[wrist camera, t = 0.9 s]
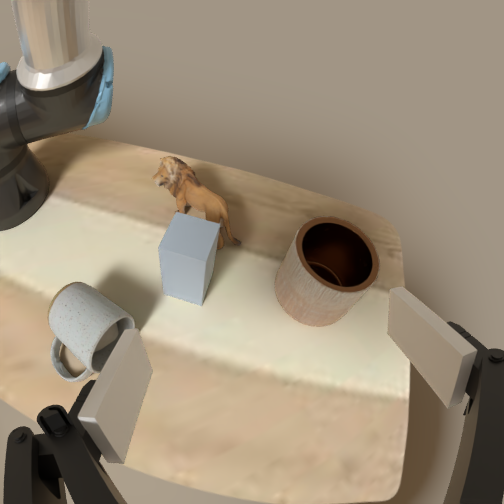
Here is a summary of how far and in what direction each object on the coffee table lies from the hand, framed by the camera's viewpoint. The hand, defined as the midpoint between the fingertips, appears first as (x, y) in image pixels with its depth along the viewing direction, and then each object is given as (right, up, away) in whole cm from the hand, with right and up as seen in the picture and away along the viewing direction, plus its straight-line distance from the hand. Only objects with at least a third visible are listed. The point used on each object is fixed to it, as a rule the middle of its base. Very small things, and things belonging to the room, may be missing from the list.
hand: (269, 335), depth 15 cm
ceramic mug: (-20, -7, +17) cm, 27 cm away
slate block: (-9, 0, +25) cm, 26 cm away
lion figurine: (-9, +8, +31) cm, 33 cm away
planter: (+7, -1, +27) cm, 28 cm away
